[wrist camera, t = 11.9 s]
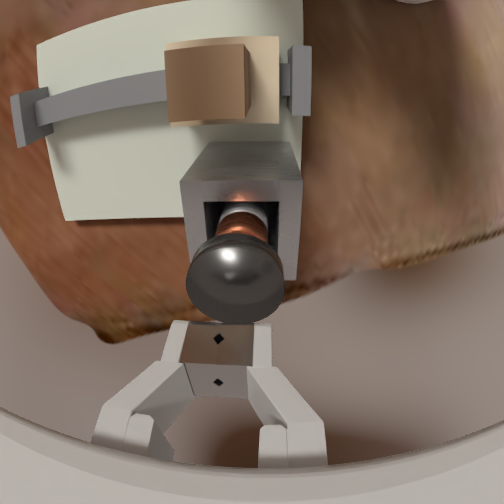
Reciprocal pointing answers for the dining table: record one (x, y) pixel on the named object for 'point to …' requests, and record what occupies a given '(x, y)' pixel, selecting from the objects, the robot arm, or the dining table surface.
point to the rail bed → (147, 104)
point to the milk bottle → (413, 1)
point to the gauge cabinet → (245, 193)
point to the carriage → (223, 80)
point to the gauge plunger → (237, 267)
